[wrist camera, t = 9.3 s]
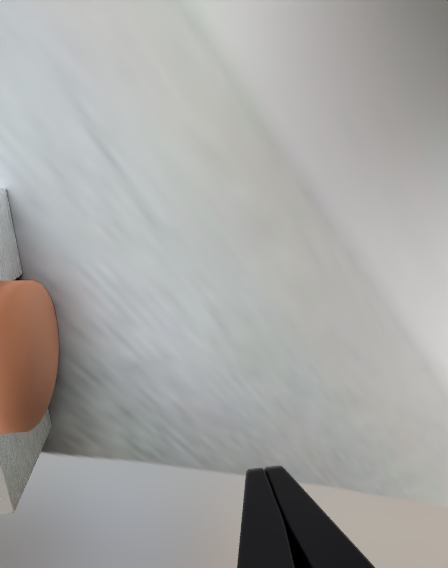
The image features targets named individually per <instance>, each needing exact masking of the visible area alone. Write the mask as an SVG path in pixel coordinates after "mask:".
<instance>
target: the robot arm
mask: <svg viewBox="0 0 448 568" xmlns="http://www.w3.org/2000/svg"><path fill="white" fill-rule="evenodd" d="M237 568H375V567H374V566H373V565H372V564H371V563H370V561H369V560H368V559H367V558H366V557H365V556H364V555H363V554H362V553H361V552H360V551H359V549H358V548H357V547H356V546H355V545H354V544H353V543H352V542H351V541H350V540H349V539H348V537H347V536H346V535H345V534H344V533H343V532H342V531H341V530H340V529H339V528H338V526H337V525H336V524H335V523H334V522H333V521H332V520H331V519H330V518H329V517H328V516H327V515H326V513H325V512H324V511H323V510H322V509H321V508H320V507H319V506H318V505H317V504H316V503H315V501H314V500H313V499H312V498H311V497H310V496H309V495H308V494H307V493H306V492H305V491H304V489H303V488H302V487H301V486H300V485H299V484H298V483H297V482H296V481H295V480H294V479H293V477H292V476H291V475H290V474H289V473H288V472H287V471H286V470H285V469H284V468H283V467H282V466H272V467H266V468H265V469H263V468H255V469H248V470H247V472H246V480H245V491H244V503H243V512H242V523H241V533H240V545H239V555H238V565H237Z"/></svg>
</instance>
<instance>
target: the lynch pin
mask: <svg viewBox="0 0 448 568" xmlns="http://www.w3.org/2000/svg"><path fill="white" fill-rule="evenodd" d="M58 357H59V336H58V326H57V319H56V314H55V310H54V306H53V303H52V300H51V298H50V296H49V294H48V292H47V290H46V289H45V288H44V286H43V285H42V284H41V283H39V282H37V281H35V280H18V281H0V434H9V433H20V432H28V431H30V430H32V429H34V428H35V427H36V426H37V425H38V424H39V423H40V421H41V420H42V418H43V416H44V415H45V413H46V411H47V408H48V406H49V403H50V401H51V398H52V394H53V391H54V386H55V382H56V376H57V369H58Z"/></svg>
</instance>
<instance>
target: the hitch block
mask: <svg viewBox="0 0 448 568" xmlns="http://www.w3.org/2000/svg"><path fill="white" fill-rule="evenodd" d="M21 274H22V269H21V264H20V259H19V253H18V248H17V243H16V238H15V233H14V227H13V222H12V217H11V212H10V207H9V202H8V196H7V191H6V189H0V281H14V280H15V279H16V278H18V277H19V276H20V275H21ZM51 427H52V425H51V419H50V414H49V409H48V408H47V411H46V413H45V415H44V416H43V418H42V420H41V421H40V423H39V424H38V425H37V426H36V427H35V428H34V429H32V430H30V431H28V432H20V433H9V434H0V515H2V514H10V513H14V511H15V509H16V507H17V504H18V502H19V500H20V498H21V495H22V493H23V491H24V488H25V486H26V484H27V481H28V479H29V477H30V475H31V473H32V470H33V468H34V466H35V463H36V461H37V459H38V457H39V454H40V452H41V450H42V447H43V445H44V443H45V441H46V438H47V436H48V434H49V431H50V429H51Z"/></svg>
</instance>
